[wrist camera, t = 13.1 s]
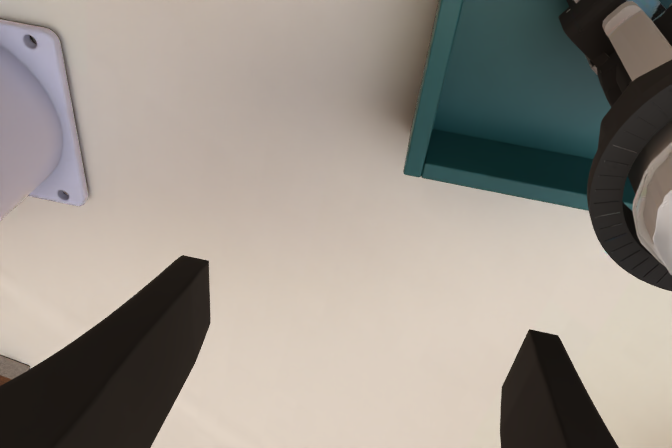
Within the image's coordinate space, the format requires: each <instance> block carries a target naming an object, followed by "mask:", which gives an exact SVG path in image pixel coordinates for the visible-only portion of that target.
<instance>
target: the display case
mask: <svg viewBox="0 0 672 448" xmlns="http://www.w3.org/2000/svg"><path fill="white" fill-rule="evenodd" d="M28 370H29V366H27V365H25V364H22V363H19V362H17V361H14V360H11V359H8V358H6V357H3V356H0V386H1V385H3V384H5V383H6V382H8V381H10V380H12V379H14V378H15V377H17V376H19V375H21V374H22V373H24V372H26V371H28Z"/></svg>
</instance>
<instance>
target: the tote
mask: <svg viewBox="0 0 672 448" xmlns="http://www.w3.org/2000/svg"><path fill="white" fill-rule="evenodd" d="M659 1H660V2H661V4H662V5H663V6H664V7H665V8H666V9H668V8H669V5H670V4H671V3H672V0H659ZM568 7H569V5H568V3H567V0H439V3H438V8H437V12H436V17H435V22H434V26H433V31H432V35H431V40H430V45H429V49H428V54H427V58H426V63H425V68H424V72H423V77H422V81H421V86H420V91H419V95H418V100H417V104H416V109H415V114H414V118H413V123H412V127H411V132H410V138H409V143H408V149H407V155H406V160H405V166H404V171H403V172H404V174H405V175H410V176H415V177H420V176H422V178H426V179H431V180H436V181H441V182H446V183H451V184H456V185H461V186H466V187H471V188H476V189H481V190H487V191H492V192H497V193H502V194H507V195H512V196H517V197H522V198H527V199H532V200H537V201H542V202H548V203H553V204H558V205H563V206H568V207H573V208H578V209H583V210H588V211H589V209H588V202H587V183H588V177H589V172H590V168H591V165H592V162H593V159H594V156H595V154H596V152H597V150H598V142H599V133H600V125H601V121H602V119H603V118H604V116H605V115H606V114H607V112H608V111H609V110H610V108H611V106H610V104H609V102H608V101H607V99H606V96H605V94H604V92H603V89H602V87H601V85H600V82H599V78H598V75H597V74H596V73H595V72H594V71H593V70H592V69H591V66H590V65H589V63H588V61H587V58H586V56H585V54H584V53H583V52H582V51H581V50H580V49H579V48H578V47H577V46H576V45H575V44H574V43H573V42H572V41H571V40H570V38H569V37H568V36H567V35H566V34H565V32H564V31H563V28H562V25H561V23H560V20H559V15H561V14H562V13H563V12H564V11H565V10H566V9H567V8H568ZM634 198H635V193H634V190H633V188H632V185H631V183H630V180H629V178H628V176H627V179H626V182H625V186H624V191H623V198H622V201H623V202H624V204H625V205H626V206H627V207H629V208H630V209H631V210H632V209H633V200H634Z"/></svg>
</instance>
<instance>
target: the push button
mask: <svg viewBox="0 0 672 448" xmlns="http://www.w3.org/2000/svg"><path fill="white" fill-rule="evenodd" d="M567 3H568V5H569V7H568V8H567V9H566V10H565V11H564V12H563V13H562V14H561V15H559V20H560V23H561V25H562V28H563V31H564V32H565V34H566V35H567V36H568V37H569V38H570V40H571V41H572V42H573V43H574V44H575V45H576V46H577V47H578V48H579V49H580V50H581V51H582V52H583V53H584V54H585V56H586V58H587V61H588V63H589V65H590V66H591V69H592V70H593V71H594V72H595V73H596V74H597V75H598V78H599V82H600V85H601V87H602V89H603V92H604V94H605V96H606V99H607V101H608V102H609V104H610V106H611V108H610V110H609V111H608V112H607V114H606V115H605V116H604V118H603V119H602V121H601V125H600V133H599V142H598V150H597V152H596V154H595V156H594V159H593V162H592V165H591V168H590V172H589V177H588V183H587V202H588V209H589V213H590V217H591V221H592V225H593V228H594V231H595V233H596V236H597V238H598V240H599V242H600V243H601V245H602V247H603V248H604V250H605V251H606V252H607V253H608V255H609V256H610V257H611V258H612V259H613V260H614V261H615V262H616V263H617V264H618V265H619V266H620V267H622V268H623V269H624V270H626V271H627V272H628V273H630V274H631V275H633V276H635V277H636V278H638V279H640V280H642V281H644V282H646V283H649V284H651V285H654V286H656V287H659V288H662V289H665V290H669V291H672V3H671V4H670V5H669V8H668V9H666V8H665V7H664V6H663V5H662V4H661V2H660V1H659V0H567ZM627 176H628V178H629V180H630V183H631V185H632V188H633V190H634V193H635V198H634V200H633V209H632V210H631V209H630V208H629V207H627V206H626V205H625V204H624V202H623V201H622V198H623V191H624V186H625V182H626V179H627Z"/></svg>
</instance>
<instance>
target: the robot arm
mask: <svg viewBox="0 0 672 448" xmlns="http://www.w3.org/2000/svg"><path fill="white" fill-rule="evenodd" d="M30 36H32V37H33V38H34V39H35V40H36V42H37V44H34V43H33V42H32V41H31V39H30ZM64 191H65V192H66V193H67V194H68V195H67V194H66V193H65V192H64ZM27 196H31V197H36V198H41V199H46V200H51V201H55V202H60V203H65V204H70V205H74V206H82V205H84V203H85V202H86V201H87V200H88V197H89V195H88V189H87V184H86V179H85V173H84V168H83V162H82V157H81V151H80V146H79V140H78V135H77V130H76V124H75V119H74V113H73V108H72V102H71V97H70V91H69V86H68V81H67V75H66V70H65V64H64V59H63V53H62V48H61V43H60V40H59V38H58V36H57V35H56V34H55V33H54V32H53V31H52V30H50V29H48V28H45V27H39V26H34V25H28V24H23V23H18V22H12V21H7V20H2V19H0V221H1V220H2V219H3V218H4V217H5V216H6V215H7V214H9V213H10V212H11V211H12V210H13V209H14V208H15V207H16V206H17V205H18V204H19V203H20V202H21V201H23V200H24V199H25V198H26V197H27ZM209 325H210V293H209V261H207V260H202V259H198V258H193V257H188V256H184V255H183V256H181V257H179V258H178V259H177V260H175V261H174V262H173V263H172V264H171V265H170V266H169V267H167V268H166V269H165V270H164V271H163V272H162V273H160V274H159V275H158V276H157V277H156V278H155V279H153V280H152V281H151V282H150V283H149V284H148V285H146V286H145V287H144V288H143V289H142V290H140V291H139V292H138V293H137V294H136V295H134V296H133V297H132V298H131V299H129V300H128V301H127V302H126V303H124V304H123V305H122V306H121V307H119V308H118V309H117V310H116V311H114V312H113V313H112V314H110V315H109V316H108V317H107V318H105V319H104V320H103V321H101V322H100V323H98V324H97V325H96V326H94V327H93V328H91V329H90V330H89V331H87V332H86V333H85V334H83V335H82V336H80V337H79V338H78V339H76V340H75V341H73V342H72V343H70V344H69V345H67V346H66V347H64V348H63V349H61V350H60V351H58V352H57V353H55V354H54V355H52V356H51V357H49V358H47V359H46V360H44V361H43V362H41V363H39V364H38V365H36V366H34V367H33V368H31V369H29V370H28V371H26V372H24V373H22V374H21V375H19V376H17V377H15V378H14V379H12V380H10V381H8V382H6V383H5V384H3V385H1V386H0V448H150V447H151V445H152V443H153V442H154V440H155V438H156V436H157V434H158V432H159V430H160V428H161V427H162V425H163V423H164V421H165V419H166V417H167V415H168V413H169V412H170V410H171V408H172V406H173V404H174V402H175V400H176V398H177V396H178V395H179V393H180V391H181V389H182V387H183V385H184V383H185V381H186V379H187V377H188V376H189V374H190V372H191V370H192V368H193V366H194V364H195V362H196V359H197V357H198V354H199V352H200V349H201V347H202V344H203V341H204V339H205V336H206V333H207V331H208V328H209ZM500 437H501V448H619V447H618V446H617V444H616V442H615V441H614V439H613V437H612V436H611V434H610V432H609V430H608V429H607V427H606V425H605V423H604V422H603V420H602V418H601V416H600V415H599V413H598V411H597V409H596V408H595V406H594V404H593V402H592V400H591V398H590V397H589V395H588V393H587V391H586V389H585V387H584V385H583V383H582V381H581V379H580V378H579V376H578V374H577V372H576V370H575V368H574V366H573V364H572V362H571V360H570V358H569V356H568V354H567V352H566V350H565V348H564V346H563V344H562V342H561V340H560V338H559V337H558V335H553V334H548V333H544V332H539V331H534V330H530V329H529V331H528V333H527V335H526V337H525V339H524V342H523V344H522V346H521V348H520V350H519V352H518V354H517V356H516V359H515V361H514V363H513V365H512V367H511V369H510V371H509V373H508V376H507V378H506V380H505V382H504V384H503V386H502V396H501V419H500Z"/></svg>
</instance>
